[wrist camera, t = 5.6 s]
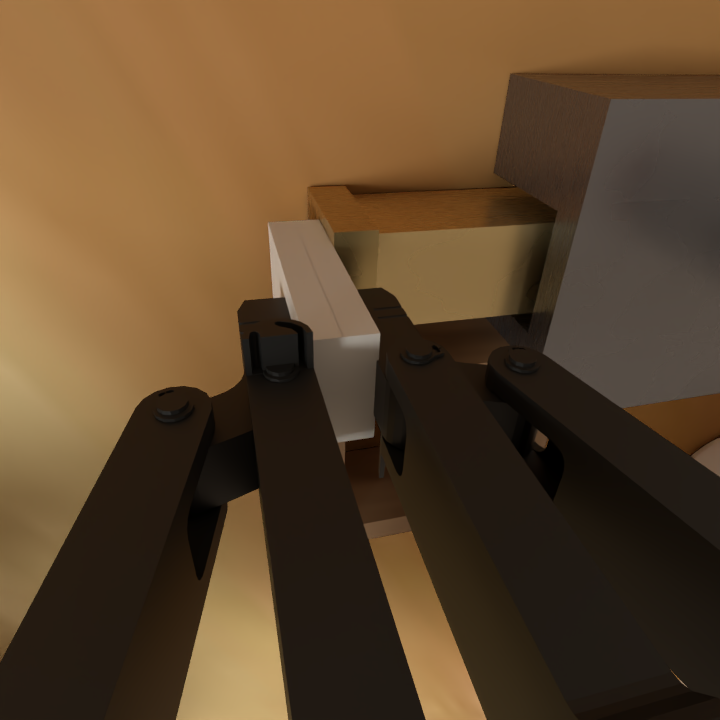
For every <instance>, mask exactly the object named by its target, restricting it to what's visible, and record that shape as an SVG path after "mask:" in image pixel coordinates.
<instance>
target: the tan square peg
mask: <svg viewBox="0 0 720 720" xmlns="http://www.w3.org/2000/svg"><path fill="white" fill-rule="evenodd" d="M556 215H557V210H555V209H553V208H552V207H550V206H548V205H547V204H545V203H543V202H542V201H540V200H538V199H537V198H535V197H533V196H532V195H530V194H528V193H527V192H525V191H523V190H522V189H520V188H518V187H514V188H491V189H469V190H446V191H424V192H402V193H379V194H357V195H352V194H351V193H350V192H349V190H348V189H347V188H346V187H345V186H324V187H308V220H318V219H319V221H320V223H321V224H322V226H323V228H324V230H325V232H326V234H327V236H328V237H329V239H330V241H331V243H332V245H333V247H334V248H335V250H336V252H337V254H338V256H339V258H340V260H341V261H342V263H343V265H344V267H345V269H346V271H347V272H348V274H349V276H350V278H351V280H352V282H353V284H354V285H355V287H356V289H368V288H380V287H381V288H383V289H385V290H386V291H388V292H390V293H391V294H393V295H394V296H395V297H396V298H397V300H398V301H399V303H400V304H401V306H402V308H403V309H404V310H405V312H406V314H407V316H408V317H409V318H410V320H411V321H412V323H413V324H414V325H416V324H425V323H435V322H445V321H454V320H464V319H474V318H484V317H493V316H503V315H513V314H522V313H532V312H533V309H534V305H535V301H536V297H537V293H538V289H539V285H540V281H541V277H542V272H543V268H544V264H545V260H546V256H547V252H548V248H549V244H550V240H551V235H552V231H553V227H554V223H555V219H556Z"/></svg>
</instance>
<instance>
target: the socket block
mask: <svg viewBox="0 0 720 720" xmlns="http://www.w3.org/2000/svg"><path fill="white" fill-rule="evenodd" d="M494 173H495V174H497V175H498V176H500V177H502V178H503V179H505V180H507V181H508V182H510V183H512V184H513V185H515V186H517V187H518V188H520V189H522V190H523V191H525V192H527V193H528V194H530V195H532V196H533V197H535V198H537V199H538V200H540V201H542V202H543V203H545V204H547V205H548V206H550V207H552V208H553V209H555V210H557V215H556V219H555V223H554V227H553V231H552V235H551V240H550V244H549V248H548V252H547V256H546V260H545V264H544V268H543V272H542V277H541V281H540V285H539V289H538V293H537V297H536V301H535V305H534V309H533V312H532V313H522V314H513V315H503V316H493V317H485V318H486V319H487V320H488V321H489V322H490V324H491V325H492V326H493V327H494V328H495V329H496V330H497V331H498V333H499V334H500V335H501V336H502V337H503V338H504V339H505V340H506V341H507V343H508V344H509V345H512V346H515V345H517V346H525V347H527V348H531V349H534V350H537V351H538V352H540V353H542V354H544V355H546V356H547V357H549V358H550V359H552V360H553V361H555V362H556V363H557V364H559V365H560V366H562V367H563V368H565V369H566V370H567V371H569V372H570V373H572V374H573V375H575V376H576V377H578V378H579V379H580V380H582V381H583V382H585V383H586V384H588V385H589V386H590V387H592V388H593V389H595V390H596V391H598V392H599V393H600V394H602V395H603V396H605V397H606V398H608V399H609V400H610V401H612V402H613V403H615V404H616V405H618V406H619V407H621V408H626V407H633V406H639V405H646V404H652V403H659V402H665V401H672V400H678V399H685V398H691V397H698V396H704V395H711V394H717V393H720V75H621V74H510V80H509V86H508V92H507V98H506V104H505V110H504V116H503V122H502V128H501V134H500V140H499V145H498V151H497V157H496V163H495V169H494Z"/></svg>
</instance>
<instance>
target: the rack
mask: <svg viewBox="0 0 720 720" xmlns="http://www.w3.org/2000/svg"><path fill="white" fill-rule="evenodd" d="M414 326H415V327H416V329H417V330H418V332H419V333H420V335H421V336H422V338H423V339H425V340H429V341H433V342H435V343H437V344H439V345H442V346H443V347H444V348H445V349H446V350H447V351H448V352H449V353H450V355H451V356H452V358H453V359H454V361H456V362H463V363H473V364H485V365H487V363H488V358H489V356H490V354H491V352H492V351H493V350H495V349H497V348H499V347H504V346H510V345H509V344H508V343H507V341H506V340H505V339H504V338H503V337H502V336H501V335H500V334H499V333H498V331H497V330H496V329H495V328H494V327H493V326H492V325H491V324H490V322H489V321H488V320H487V319H486V318H485V317H484V318H474V319H464V320H454V321H445V322H435V323H425V324H416V325H414ZM547 439H548V438H547V437H546V436H545V435H543V434H542V433H541V432H540V431H539V430H538V431H537V434H536V438H535V442H536V443H537V444H538V445H540V446H541V447H543V448H545V445H546V442H547ZM338 445H339V449H340V452H341V455H342V458H343V461H344V464H345V467H346V471H347V474H348V477H349V480H350V483H351V486H352V489H353V493H354V496H355V499H356V502H357V505H358V508H359V511H360V515H361V518H362V521H363V524H364V527H365V530H366V534H367V537H368V539H373V538H378V537H383V536H388V535H394V534H399V533H404V532H409V531H412V530H411V528H410V525H409V523H408V520H407V518H406V515H405V512H404V510H403V507H402V505H401V502H400V500H399V497H398V495H397V492H396V490H395V487H394V485H393V482H392V480H391V477H390V475H389V472H388V470H387V467H385V470H384V478H379V473H378V467H379V453H380V447H374V448H368V449H361V450H355V451H348V452H345V442H338Z"/></svg>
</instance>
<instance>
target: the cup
mask: <svg viewBox="0 0 720 720" xmlns="http://www.w3.org/2000/svg"><path fill="white" fill-rule="evenodd" d="M691 457H692V458H694V459H695V460H696V461H698V462H699V463H701V464H702V465H704V466H705V467H706V468H708V469H709V470H711V471H712V472H714V473H715V474H717V475H718V476H719V477H720V438H717V439H715V440H713V441H711V442H709V443H708V444H706V445H705V446H703V447H702V448H700V449H699V450H698V451H696V452H695V453H694V454H693V455H692V456H691Z"/></svg>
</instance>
